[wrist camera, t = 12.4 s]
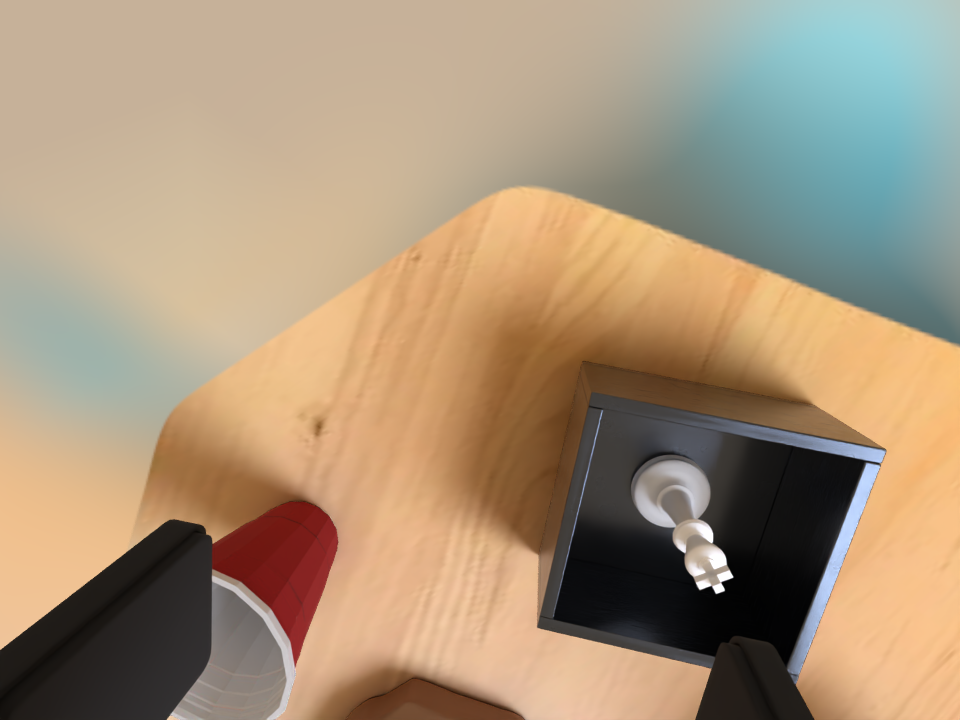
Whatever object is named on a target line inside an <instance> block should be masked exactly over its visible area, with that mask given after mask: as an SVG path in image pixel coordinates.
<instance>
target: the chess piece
mask: <svg viewBox="0 0 960 720" xmlns="http://www.w3.org/2000/svg"><path fill="white" fill-rule="evenodd" d="M710 494H711V492H710V485H709V482H708V479H707V476H706V474H705V472H704V471H703V470H702V468H701V467H700V466H699V465H698V464H696V463H695V462H694V461H692V460H690V459H688V458H686V457H683V456H679V455H663V456H658V457H655V458H653V459H651V460H649V461H647V462H646V463H645V464H643V465H642V466H641V467H640V468H639V469H638V471H637V472H636V474H635V475H634V478H633V480H632V484H631V496H632V500H633V502H634V504H635V506H636V508H637V509H638V511H639V512H640V513H641V515H642V516H643V517H644V518H646V519H647V520H648V521H650V522H651V523H653V524H656V525H659V526H662V527H670V528H673V527H675V529H674V531H673V541H674V544H675V545H676V547H677V548H678V549H680V550H681V551H682V552H684V553H685V566H686V569H687V571H688V572H689V573H690V574H691V575H692V576H693V577H694V580H695V582H696V584H697V586H698V588H699V590H701V589H704V588H706V587H709V586H712V587H713V589H714V591H715V593H716V594H717V593H720V592H723V591H725V589H724V588H723V586H722V584H721V582H722V581H725V580H728V579H731V578H733V576H732V574H731V572H730V570H729V568H728V566H727V565H726V557H725V555H724V553H723V552H722V550H721V549H720V548H718V547H717V546H716V545H714V544H712V542H713V532H712V529H711V528H710V526H709V525H708V524H707V523H706V522H704V521H702V520H699V519H698V518H699V517H700V516H701V515H702V514H703V513H704V511H705V510H706V508H707V506H708V504H709V501H710Z"/></svg>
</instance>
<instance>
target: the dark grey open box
mask: <svg viewBox="0 0 960 720" xmlns="http://www.w3.org/2000/svg"><path fill="white" fill-rule="evenodd" d="M885 454H886V449H885V448H883V447H881V446H880V445H878V444H876V443H875V442H873V441H872V440H870V439H868V438H867V437H865V436H864V435H862V434H860V433H859V432H857V431H855V430H854V429H852V428H851V427H849V426H847V425H846V424H844V423H843V422H841V421H839V420H838V419H836V418H834V417H833V416H831V415H830V414H828V413H826V412H825V411H823V410H821V409H820V408H818V407H817V406H815V405H811V404H806V403H801V402H796V401H790V400H785V399H780V398H775V397H769V396H764V395H759V394H754V393H748V392H743V391H738V390H733V389H727V388H722V387H717V386H712V385H706V384H701V383H696V382H691V381H685V380H680V379H675V378H670V377H664V376H659V375H654V374H649V373H643V372H638V371H633V370H628V369H622V368H617V367H612V366H607V365H601V364H596V363H591V362H586V361H582V364H581V369H580V373H579V378H578V382H577V386H576V391H575V395H574V400H573V404H572V409H571V413H570V418H569V422H568V427H567V431H566V436H565V440H564V445H563V449H562V454H561V458H560V463H559V467H558V472H557V476H556V481H555V485H554V490H553V494H552V499H551V503H550V508H549V512H548V517H547V521H546V525H545V530H544V534H543V539H542V543H541V548H540V552H539V565H538V612H537V628H540V629H544V630H549V631H553V632H557V633H562V634H566V635H570V636H574V637H579V638H583V639H587V640H592V641H596V642H600V643H604V644H609V645H613V646H617V647H622V648H626V649H630V650H634V651H639V652H643V653H647V654H652V655H656V656H660V657H665V658H669V659H673V660H677V661H682V662H686V663H690V664H695V665H699V666H703V667H707V668H712V666H713V663H714V660H715V657H716V654H717V651H718V648H719V646H720V644H721V643H729V642H730V640H731V638H733V637H734V636H740V637H745V638H749V639H754V640H759V641H764V642H769V643H770V644H772V645H773V646H774V647H775V649H776V650H777V652H778V654H779V656H780V658H781V659H782V661H783V663H784V665H785V667H786V669H787V670H788V672H789V674H790V676H791V678H792V680H793V681H794V683H795V685H796V683H797V680H798V678H799V674H800V672H801V669H802V666H803V664H804V661H805V659H806V656H807V654H808V651H809V648H810V646H811V643H812V641H813V638H814V636H815V633H816V631H817V628H818V625H819V623H820V620H821V618H822V615H823V613H824V610H825V607H826V605H827V602H828V600H829V597H830V595H831V592H832V590H833V587H834V584H835V582H836V579H837V577H838V574H839V572H840V569H841V566H842V564H843V561H844V559H845V556H846V554H847V551H848V549H849V546H850V543H851V541H852V538H853V536H854V533H855V531H856V528H857V525H858V523H859V520H860V518H861V515H862V513H863V510H864V508H865V505H866V502H867V500H868V497H869V495H870V492H871V490H872V487H873V484H874V482H875V479H876V477H877V474H878V472H879V469H880V467H881V464H879V463H882V461H883V459H884V456H885ZM663 455H679V456H683V457H686V458H688V459H690V460H692V461H694V462H695V463H696V464H698V465H699V466H700V467H701V468H702V470H703V471H704V472H705V474H706V476H707V479H708V482H709V485H710V492H711V494H710V501H709V504H708V506H707V508H706V510H705V511H704V513H703V514H702V515H701V516H700V517H699V518H698V519H699V520H702V521H704V522H706V523H707V524H708V525H709V526H710V528H711V529H712V532H713V542H712V544H714V545H716V546H717V547H718V548H720V549H721V550H722V552H723V553H724V555H725V557H726V565H727V566H728V568H729V570H730V572H731V574H732V576H733V578H731V579H728V580H725V581H722V582H721V584H722V586H723V588H724V589H725V591H723V592H720V593H717V594H716V593H715V591H714V589H713V587H712V586H709V587H706V588H704V589H701V590H699V588H698V586H697V584H696V582H695V580H694V577H693V576H692V575H691V574H690V573H689V572H688V571H687V569H686V566H685V553H684V552H682V551H681V550H680V549H678V548H677V547H676V545H675V544H674V541H673V531H674V529H675V527H673V528H670V527H662V526H659V525H656V524H653V523H651V522H650V521H648V520H647V519H646V518H644V517H643V516H642V515H641V513H640V512H639V511H638V509H637V508H636V506H635V504H634V502H633V500H632V496H631V484H632V480H633V478H634V475H635V474H636V472H637V471H638V469H639V468H640V467H641V466H642V465H643V464H645V463H646V462H647V461H649V460H651V459H653V458H655V457H658V456H663Z"/></svg>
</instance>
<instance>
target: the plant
mask: <svg viewBox="0 0 960 720" xmlns="http://www.w3.org/2000/svg"><path fill="white" fill-rule="evenodd" d="M346 720H525V719H524V718H522V717H521V716H519V715H517V714H515V713H513V712H510V711H506V710H503V709H499V708H497V707H494V706H491V705H488V704H485V703H483V702H480V701H477V700H474V699H470V698H467V697H464V696H461V695H458V694H456V693H453V692H451V691H449V690H446V689H444V688H441V687H439V686H436V685H433V684H431V683H428V682H426V681H423V680H419V679H411V680H409V681H408V682H406V683H404V684H402V685H401V686H399V687H398V688H396V689H395V690H393V691H391V692H390V693H388V694H385V695H383V696H379V697H374V698H371V699H368V700H367V701H365V702H364V703H362V704H361V705H359V706H358V707H357V708H355V709H354V710H353V711H352V712H351V714H350V715H349V716H348V718H347V719H346Z"/></svg>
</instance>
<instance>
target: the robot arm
mask: <svg viewBox="0 0 960 720" xmlns="http://www.w3.org/2000/svg"><path fill="white" fill-rule="evenodd" d="M211 646H212V538H211V536H209V535H206V530H205V528H204V526H202V525H199V524H194V523H189V522H184V521H179V520H175V519H173V520H169V521H167V522H165V523H164V524H163V525H161V526H160V527H159V528H157V529H156V530H155V531H154V532H152V533H151V534H150V535H148V536H147V537H146V538H144V539H143V540H142V541H141V542H139V543H138V544H137V545H135V546H134V547H133V548H132V549H130V550H129V551H128V552H126V553H125V554H124V555H123V556H121V557H120V558H119V559H117V560H116V561H115V562H113V563H112V564H111V565H110V566H108V567H107V568H106V569H104V570H103V571H102V572H101V573H99V574H98V575H97V576H95V577H94V578H93V579H91V580H90V581H89V582H88V583H86V584H85V585H84V586H83V587H81V588H80V589H79V590H77V591H76V592H75V593H73V594H72V595H71V596H69V597H68V598H67V599H66V600H64V601H63V602H62V603H60V604H59V605H58V606H57V607H55V608H54V609H53V610H51V611H50V612H49V613H48V614H46V615H45V616H44V617H42V618H41V619H40V620H39V621H37V622H36V623H35V624H33V625H32V626H31V627H29V628H28V629H27V630H26V631H24V632H23V633H22V634H20V635H19V636H18V637H16V638H15V639H14V640H13V641H11V642H10V643H9V644H8V645H6V646H5V647H4V648H2V649H1V650H0V720H167V718H168V717H169V716H170V714H171V713H172V712H173V711H174V709H175V708H176V707H177V705H178V704H179V703H180V701H181V700H182V699H183V698H184V696H185V695H186V694H187V692H188V691H189V690H190V689H191V687H192V686H193V685H194V683H195V682H196V681H197V679H198V678H199V677H200V676H201V674H202V673H203V671H204V670H205V668H206V666H207V664H208V661H209V659H210V655H211ZM695 720H814V718H813V716H812V714H811V713H810V711H809V709H808V707H807V705H806V703H805V702H804V700H803V698H802V696H801V694H800V692H799V691H798V689H797V687H796V685H795V683H794V681H793V680H792V678H791V676H790V674H789V672H788V670H787V669H786V667H785V665H784V663H783V661H782V659H781V658H780V656H779V654H778V652H777V650H776V649H775V647H774V646H773V645H772V644H770V643H769V642H764V641H759V640H754V639H749V638H745V637H740V636H734V637H733V638H731V640H730V642H729V643H721V644H720V646H719V648H718V651H717V654H716V657H715V660H714V663H713V666H712V670H711V673H710V676H709V679H708V682H707V685H706V688H705V691H704V694H703V697H702V700H701V704H700V707H699V710H698V713H697V716H696V719H695Z"/></svg>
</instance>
